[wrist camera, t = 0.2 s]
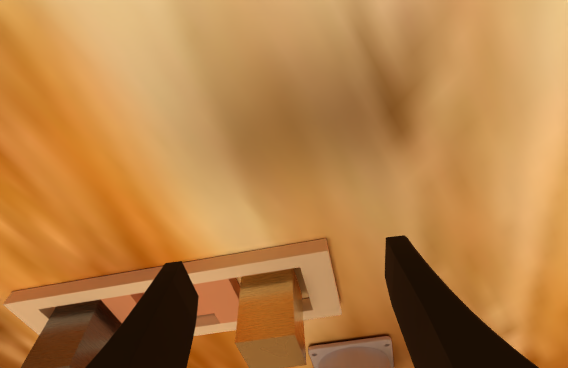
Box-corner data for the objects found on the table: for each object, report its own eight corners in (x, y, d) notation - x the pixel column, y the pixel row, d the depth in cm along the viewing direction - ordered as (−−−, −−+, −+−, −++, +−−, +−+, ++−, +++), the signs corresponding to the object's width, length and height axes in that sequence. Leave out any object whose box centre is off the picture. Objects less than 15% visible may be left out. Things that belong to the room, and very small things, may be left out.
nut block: (126, 319, 32) (99, 391, 27) (85, 325, 32) (52, 397, 27) (103, 292, 29) (68, 365, 24) (59, 300, 30) (17, 372, 25)
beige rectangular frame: (340, 302, 30) (342, 314, 30) (68, 342, 34) (62, 354, 33) (326, 238, 26) (328, 250, 25) (11, 291, 29) (2, 304, 28)
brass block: (301, 292, 30) (306, 364, 25) (255, 299, 30) (251, 371, 25) (291, 262, 27) (294, 334, 23) (242, 270, 28) (234, 343, 23)
